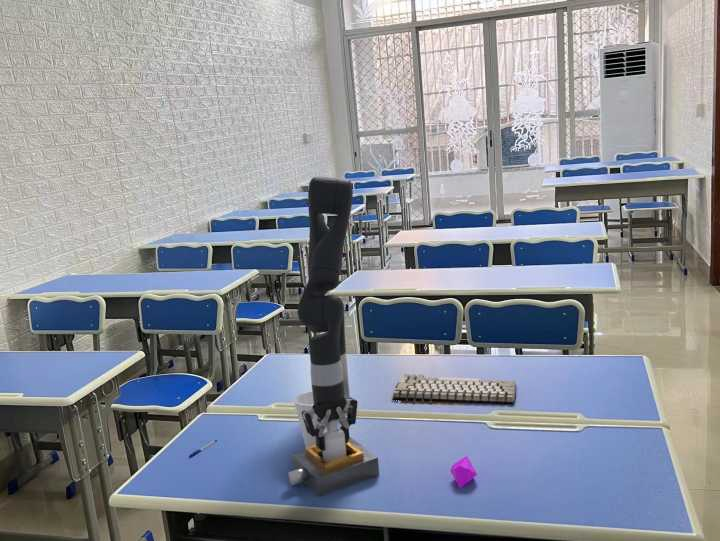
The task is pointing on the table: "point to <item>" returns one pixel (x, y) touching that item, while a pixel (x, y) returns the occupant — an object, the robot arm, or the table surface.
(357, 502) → the table surface
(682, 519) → the table surface
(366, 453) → the gearbox housing
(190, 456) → the ballpoint pen
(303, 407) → the foam cup
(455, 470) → the crystal
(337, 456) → the eye dropper bottle
